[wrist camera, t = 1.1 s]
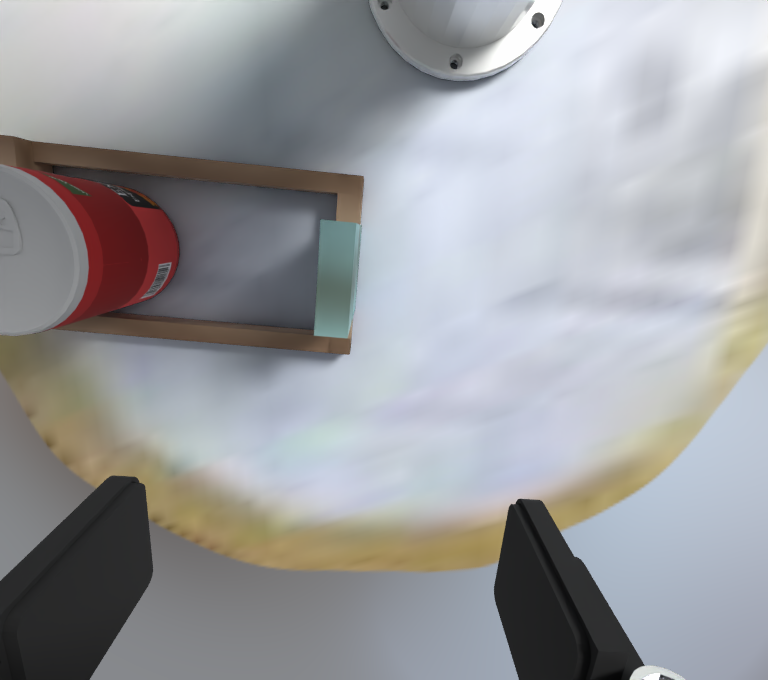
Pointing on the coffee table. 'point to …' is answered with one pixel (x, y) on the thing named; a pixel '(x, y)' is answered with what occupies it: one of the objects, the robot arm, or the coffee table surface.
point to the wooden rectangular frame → (335, 236)
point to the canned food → (76, 249)
